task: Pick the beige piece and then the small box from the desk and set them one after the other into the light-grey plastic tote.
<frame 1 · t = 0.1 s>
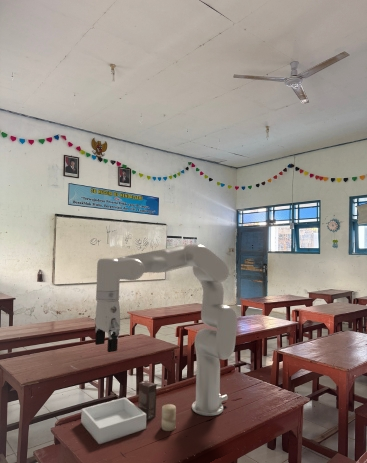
hand: (105, 347, 113), 31 cm above the table, fingers open, 9 cm apart
beige piece: (168, 427, 123), on the table
box: (146, 415, 132), on the table
tote: (113, 425, 124), on the table
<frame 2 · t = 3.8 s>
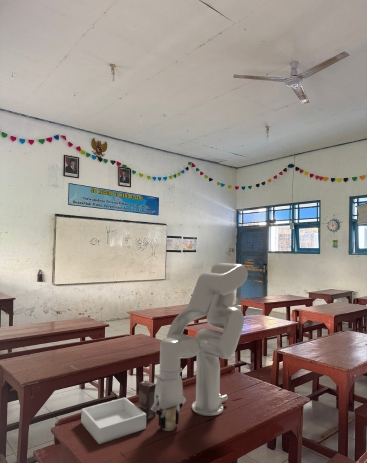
hand: (168, 424, 123), 1 cm above the table, fingers closed on beige piece, 5 cm apart
beige piece: (168, 427, 123), on the table, touching gripper
everything else where it was.
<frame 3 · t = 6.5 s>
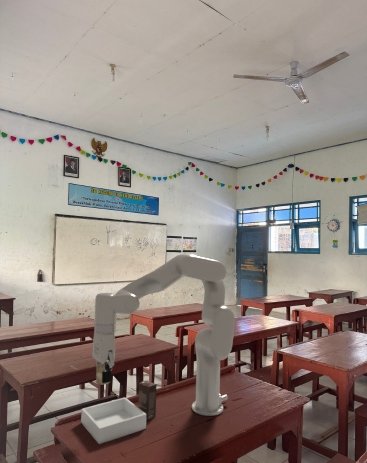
hand: (103, 379, 122), 17 cm above the table, fingers closed on beige piece, 5 cm apart
beige piece: (103, 381, 122), point 16 cm above the table, touching gripper
everything else where it was.
when the fingers open (4 cm above the table, at t = 9.4 s): beige piece drops 2 cm, resting on tote.
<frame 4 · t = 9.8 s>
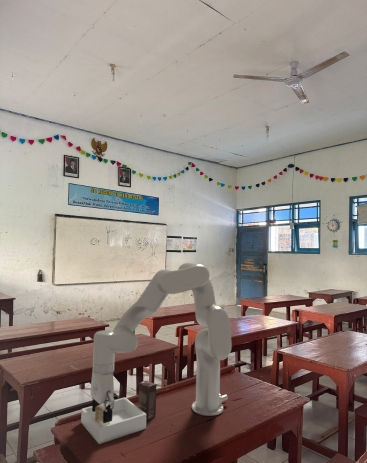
hand: (101, 416, 121), 5 cm above the table, fingers open, 9 cm apart
beige piece: (102, 427, 121), point 1 cm above the table, touching tote
everything else where it was.
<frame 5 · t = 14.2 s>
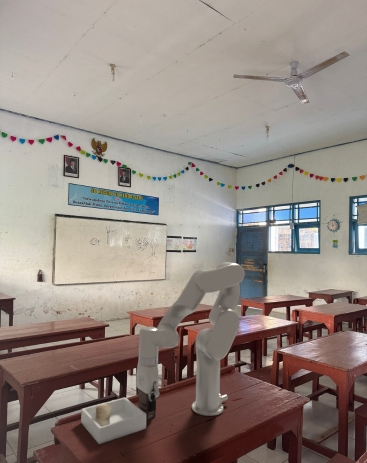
hand: (146, 406, 132), 3 cm above the table, fingers closed on box, 6 cm apart
box: (146, 415, 132), on the table, touching gripper
everything else where it was.
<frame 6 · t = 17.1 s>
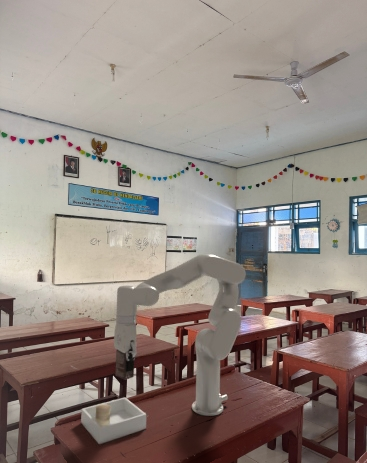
hand: (124, 367, 127), 20 cm above the table, fingers closed on box, 6 cm apart
box: (124, 377, 127), point 16 cm above the table, touching gripper
everything else where it was.
when the fingers open (6 cm above the table, at t = 20.0 s): box drops 2 cm, resting on tote.
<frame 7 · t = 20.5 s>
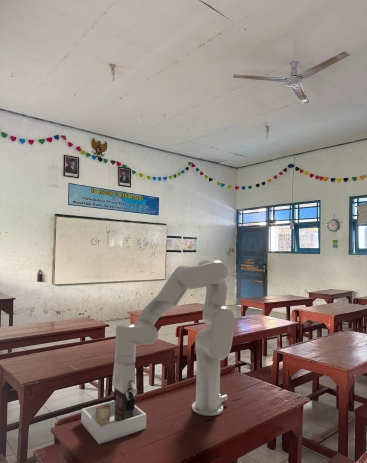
hand: (123, 405, 126), 6 cm above the table, fingers open, 9 cm apart
box: (123, 420, 126), resting on tote
everything else where it was.
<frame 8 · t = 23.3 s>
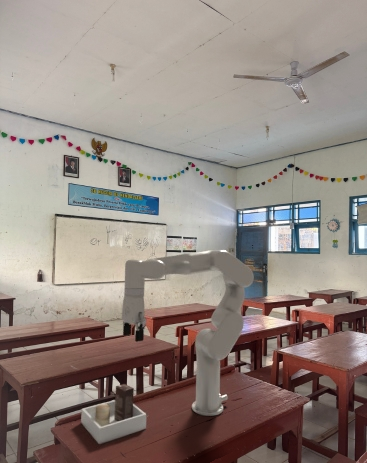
hand: (133, 338, 129), 30 cm above the table, fingers open, 9 cm apart
nothing on the table moved.
at the end: beige piece inside the target area on the tote (4.3 cm from its centre), point 0.7 cm above the tote's base; box inside the target area on the tote (4.2 cm from its centre), point 0.4 cm above the tote's base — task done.
